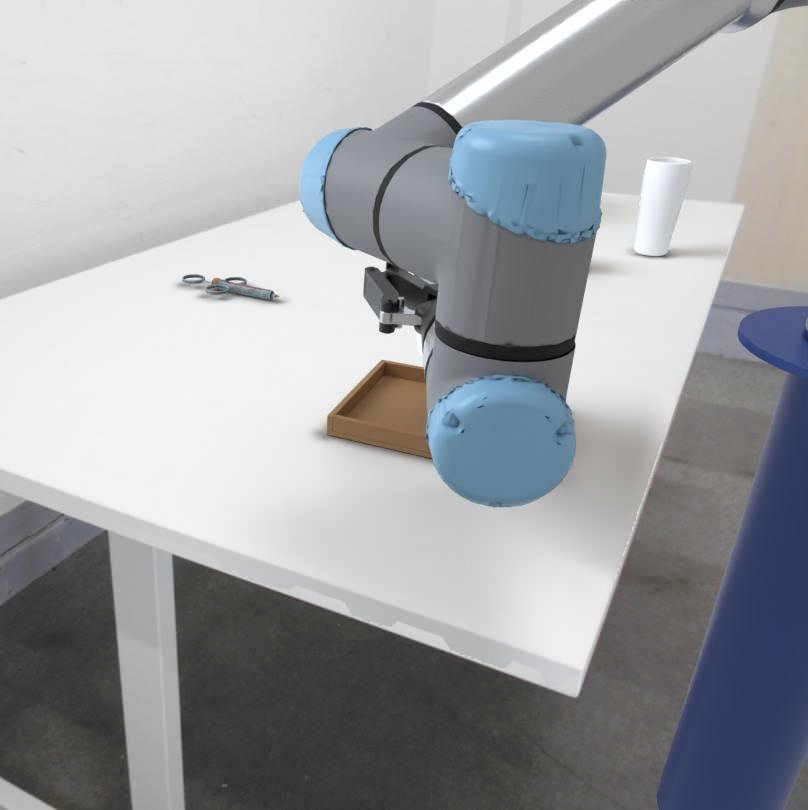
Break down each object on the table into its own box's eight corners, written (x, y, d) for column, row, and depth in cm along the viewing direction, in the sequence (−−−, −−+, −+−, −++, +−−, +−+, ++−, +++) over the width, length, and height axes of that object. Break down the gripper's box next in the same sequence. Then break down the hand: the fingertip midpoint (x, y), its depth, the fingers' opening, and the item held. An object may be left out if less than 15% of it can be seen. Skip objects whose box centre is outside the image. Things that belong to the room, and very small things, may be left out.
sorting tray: (554, 409, 80) (557, 391, 79) (526, 480, 67) (529, 459, 67) (380, 376, 87) (381, 359, 86) (326, 434, 75) (327, 415, 74)
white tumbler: (659, 247, 137) (679, 156, 131) (680, 258, 131) (702, 163, 125) (620, 248, 137) (638, 156, 130) (639, 258, 131) (659, 163, 124)
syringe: (274, 312, 106) (274, 300, 105) (168, 289, 115) (167, 277, 114) (304, 297, 112) (304, 285, 111) (201, 276, 120) (200, 265, 120)
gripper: (315, 388, 58) (337, 294, 78) (635, 410, 55) (572, 307, 75) (319, 288, 55) (340, 217, 75) (659, 306, 52) (587, 227, 72)
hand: (457, 262), depth 75 cm, fingers closed on foam cup, 9 cm apart
